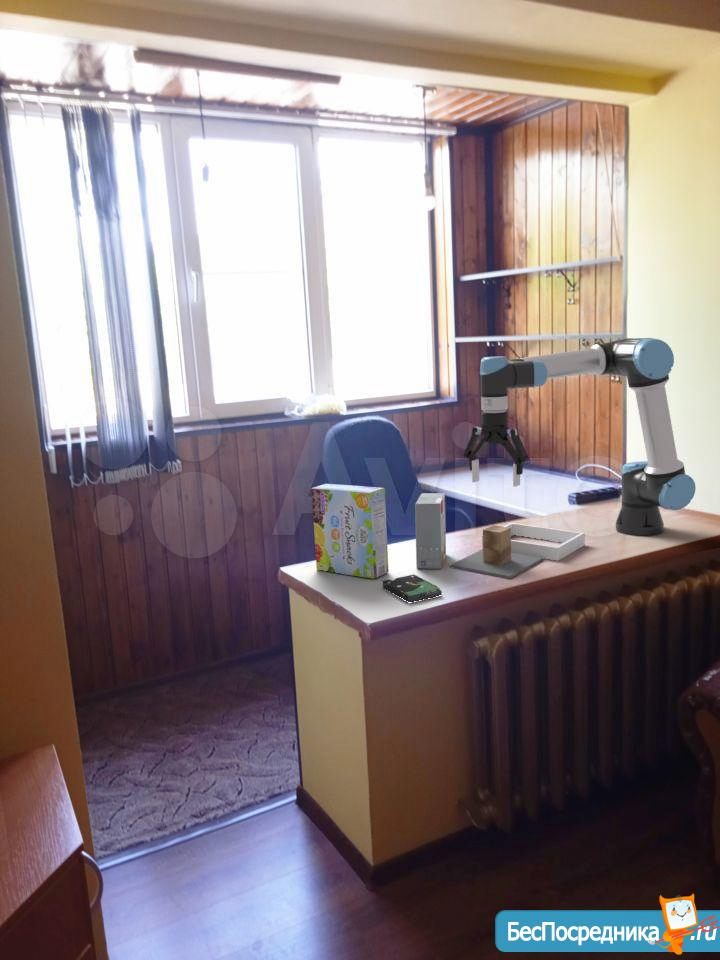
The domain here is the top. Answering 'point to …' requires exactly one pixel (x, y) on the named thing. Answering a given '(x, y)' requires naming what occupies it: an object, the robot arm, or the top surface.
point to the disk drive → (412, 588)
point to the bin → (567, 538)
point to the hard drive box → (430, 530)
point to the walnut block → (497, 545)
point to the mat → (506, 570)
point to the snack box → (350, 530)
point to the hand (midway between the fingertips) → (495, 483)
